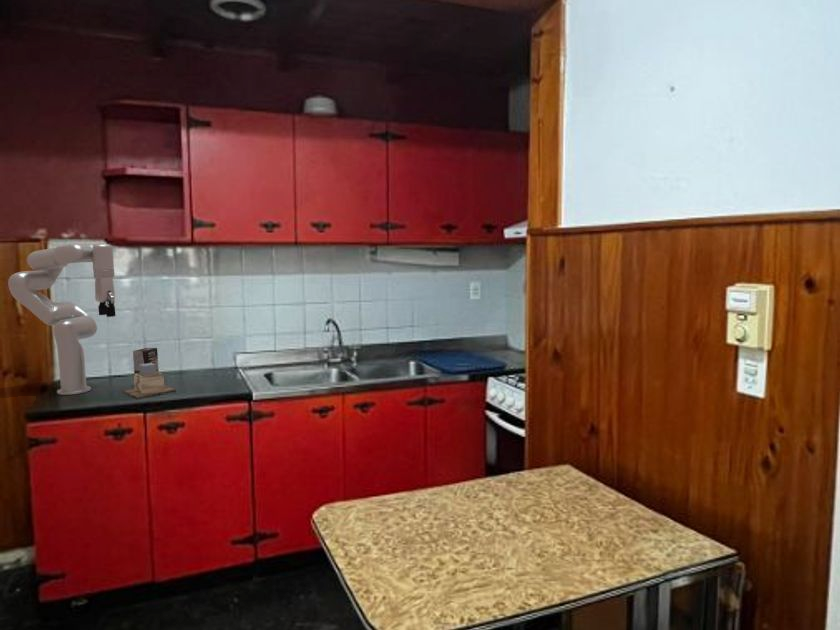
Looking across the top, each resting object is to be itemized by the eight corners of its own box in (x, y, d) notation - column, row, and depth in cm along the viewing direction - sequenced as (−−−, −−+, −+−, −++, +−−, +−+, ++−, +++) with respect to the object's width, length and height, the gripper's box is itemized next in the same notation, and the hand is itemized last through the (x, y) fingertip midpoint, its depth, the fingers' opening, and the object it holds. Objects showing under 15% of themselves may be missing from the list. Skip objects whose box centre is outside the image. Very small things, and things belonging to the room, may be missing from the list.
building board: (123, 392, 257) (121, 374, 256) (161, 386, 268) (160, 368, 267) (136, 399, 245) (135, 379, 244) (176, 391, 256) (174, 373, 255)
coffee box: (147, 387, 266) (144, 351, 264) (134, 386, 268) (131, 350, 266) (160, 382, 275) (157, 347, 273) (147, 382, 276) (145, 347, 275)
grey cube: (140, 376, 256) (139, 364, 255) (152, 374, 259) (151, 362, 259) (144, 377, 252) (143, 366, 252) (156, 376, 256) (155, 364, 255)
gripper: (87, 274, 252) (90, 315, 254) (100, 275, 239) (104, 318, 241) (106, 273, 257) (109, 313, 259) (121, 274, 244) (124, 316, 246)
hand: (107, 315), depth 250 cm, fingers open, 9 cm apart
